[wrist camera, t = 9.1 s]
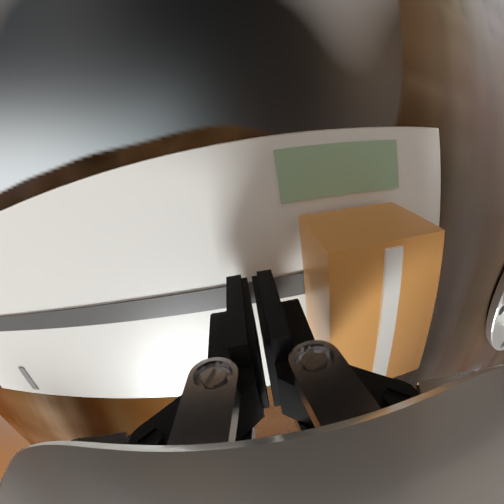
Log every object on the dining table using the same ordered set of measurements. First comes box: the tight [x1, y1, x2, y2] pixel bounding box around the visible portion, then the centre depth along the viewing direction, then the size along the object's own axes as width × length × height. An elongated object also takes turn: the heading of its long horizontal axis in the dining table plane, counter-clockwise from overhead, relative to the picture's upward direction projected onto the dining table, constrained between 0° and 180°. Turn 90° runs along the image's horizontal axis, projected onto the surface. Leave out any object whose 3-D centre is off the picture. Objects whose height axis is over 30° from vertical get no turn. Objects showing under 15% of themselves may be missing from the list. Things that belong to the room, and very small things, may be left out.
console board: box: [0, 126, 441, 398], centre depth 13 cm, size 30×12×2 cm, turn 99°
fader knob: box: [298, 202, 445, 378], centre depth 10 cm, size 4×6×4 cm, turn 9°
